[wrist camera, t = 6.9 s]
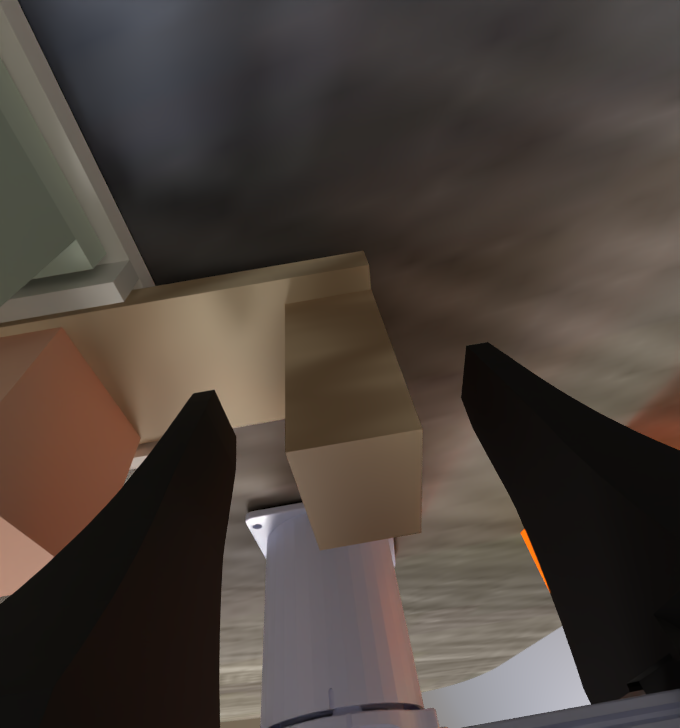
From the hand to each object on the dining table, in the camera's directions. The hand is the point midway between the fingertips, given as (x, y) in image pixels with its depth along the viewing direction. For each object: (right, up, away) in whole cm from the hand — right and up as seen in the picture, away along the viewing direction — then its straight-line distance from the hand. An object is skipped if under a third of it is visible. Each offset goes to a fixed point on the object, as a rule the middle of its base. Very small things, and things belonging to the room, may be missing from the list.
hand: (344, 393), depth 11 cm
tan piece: (-6, +1, +2) cm, 6 cm away
